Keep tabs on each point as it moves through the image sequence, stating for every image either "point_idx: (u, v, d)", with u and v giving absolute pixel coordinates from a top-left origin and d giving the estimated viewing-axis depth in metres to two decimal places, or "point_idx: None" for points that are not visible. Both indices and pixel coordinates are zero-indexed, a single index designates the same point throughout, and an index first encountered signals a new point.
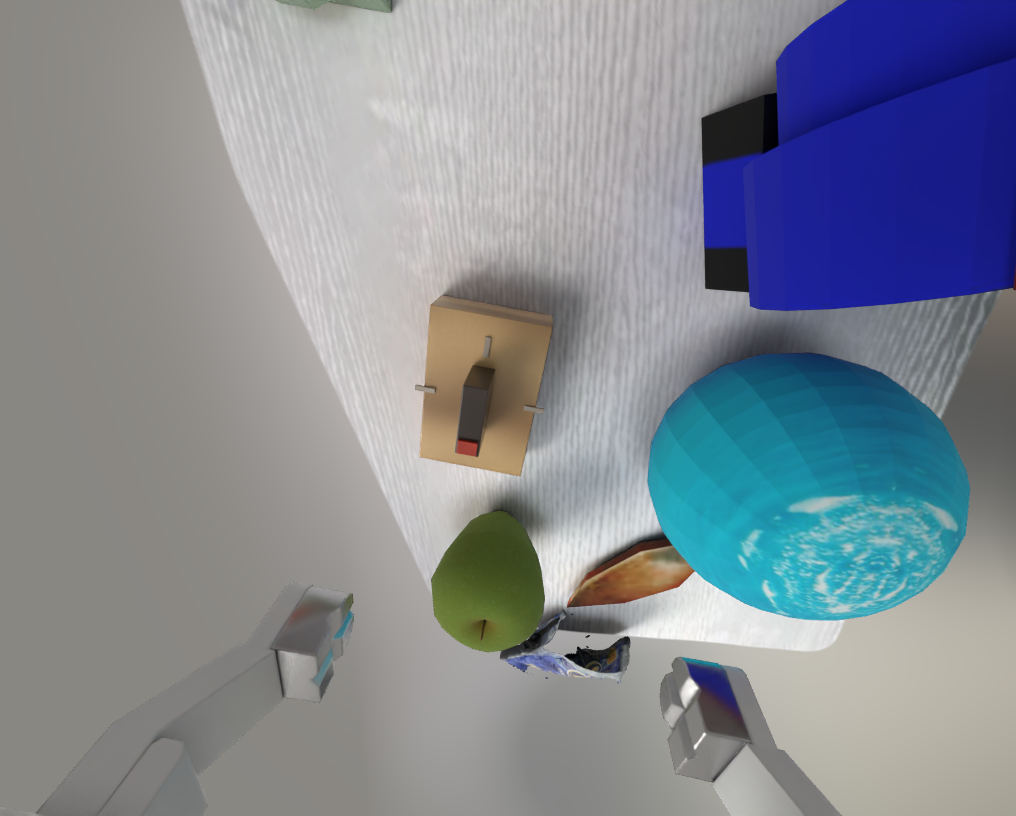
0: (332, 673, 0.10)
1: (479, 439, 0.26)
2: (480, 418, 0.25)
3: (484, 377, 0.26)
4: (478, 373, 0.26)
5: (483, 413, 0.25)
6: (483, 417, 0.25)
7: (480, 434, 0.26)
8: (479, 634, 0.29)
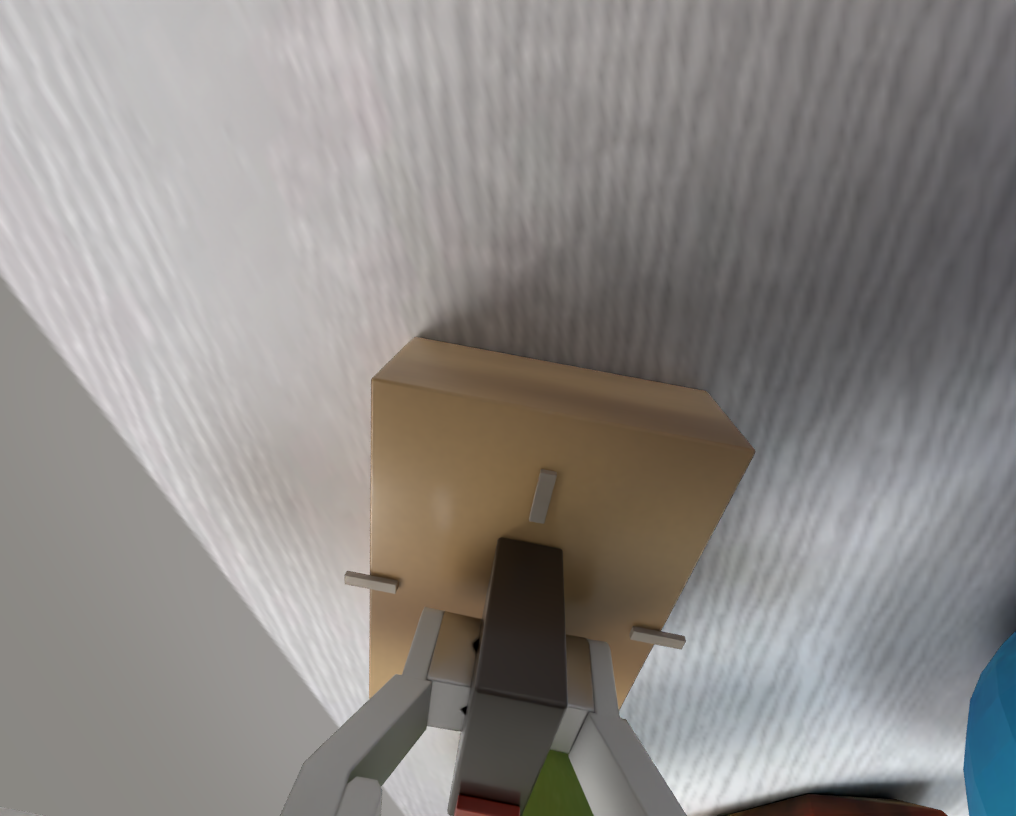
0: None
1: (524, 801, 0.08)
2: (531, 763, 0.08)
3: (541, 609, 0.08)
4: (520, 586, 0.09)
5: (543, 755, 0.07)
6: (542, 761, 0.08)
7: (528, 792, 0.08)
8: None
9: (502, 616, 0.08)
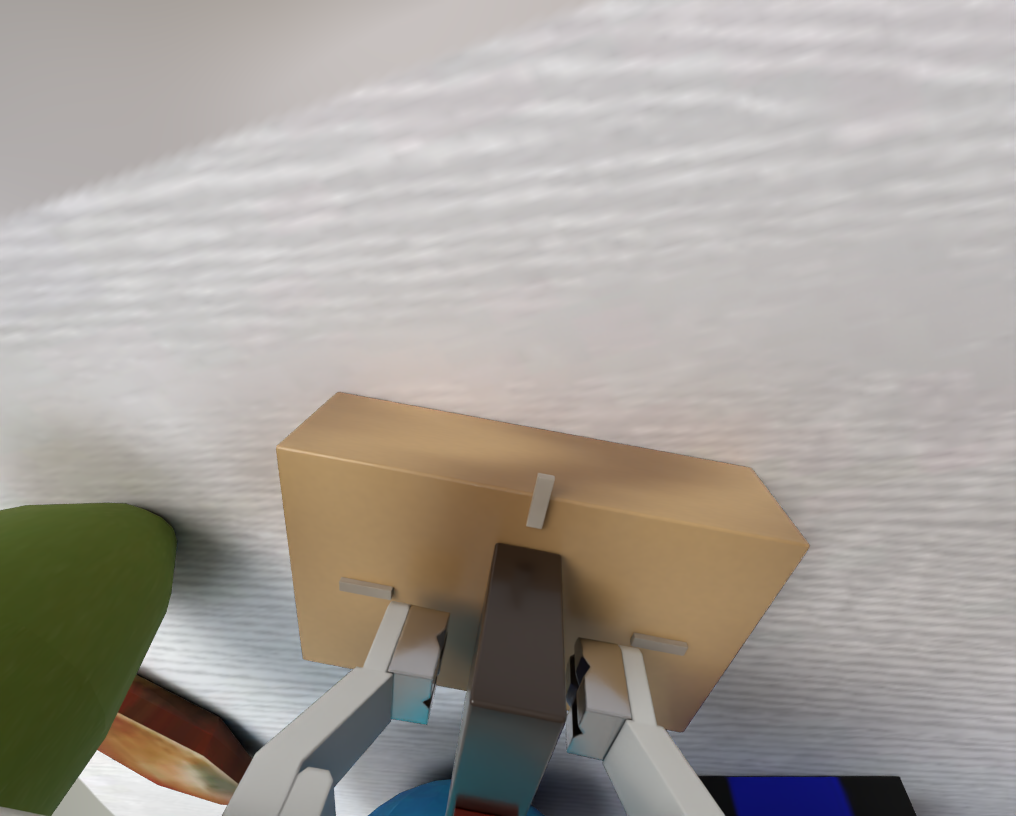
0: (434, 693, 0.10)
1: (522, 815, 0.08)
2: (529, 777, 0.07)
3: (539, 618, 0.08)
4: (517, 594, 0.08)
5: (541, 769, 0.07)
6: (540, 775, 0.07)
7: (526, 806, 0.08)
8: None
9: (499, 625, 0.08)
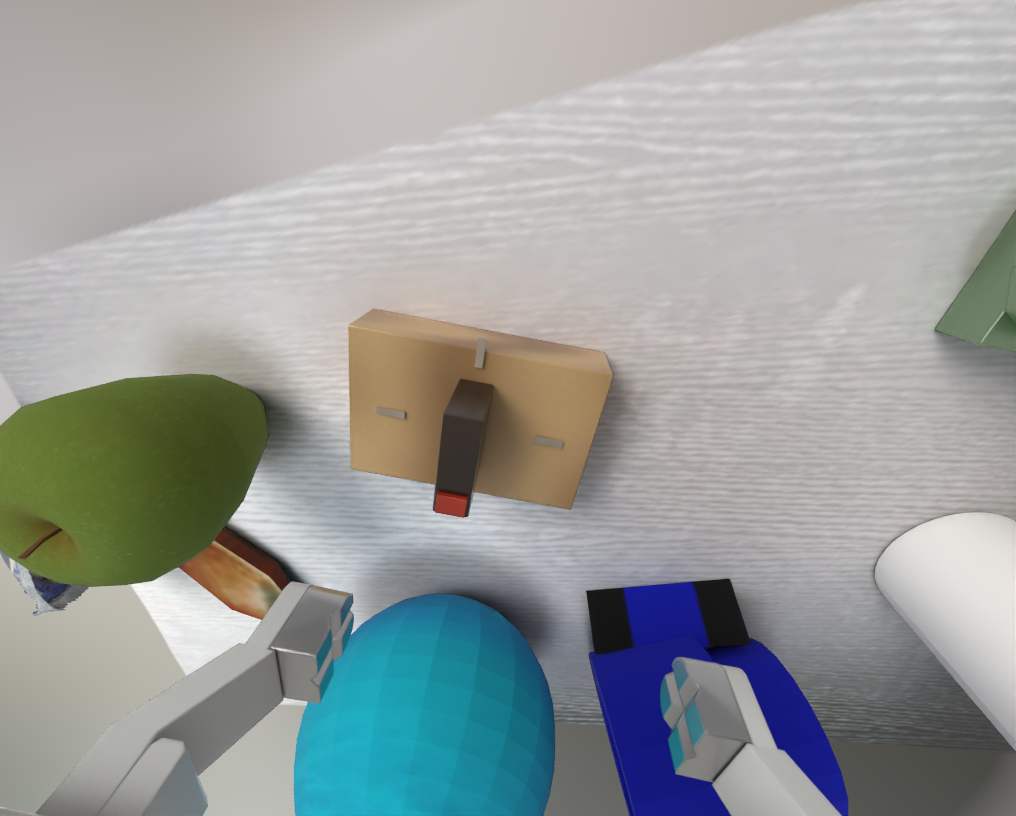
0: (332, 673, 0.10)
1: (469, 492, 0.17)
2: (471, 462, 0.17)
3: (477, 399, 0.17)
4: (468, 392, 0.18)
5: (475, 455, 0.16)
6: (475, 461, 0.17)
7: (471, 485, 0.17)
8: (24, 526, 0.15)
9: (458, 399, 0.17)
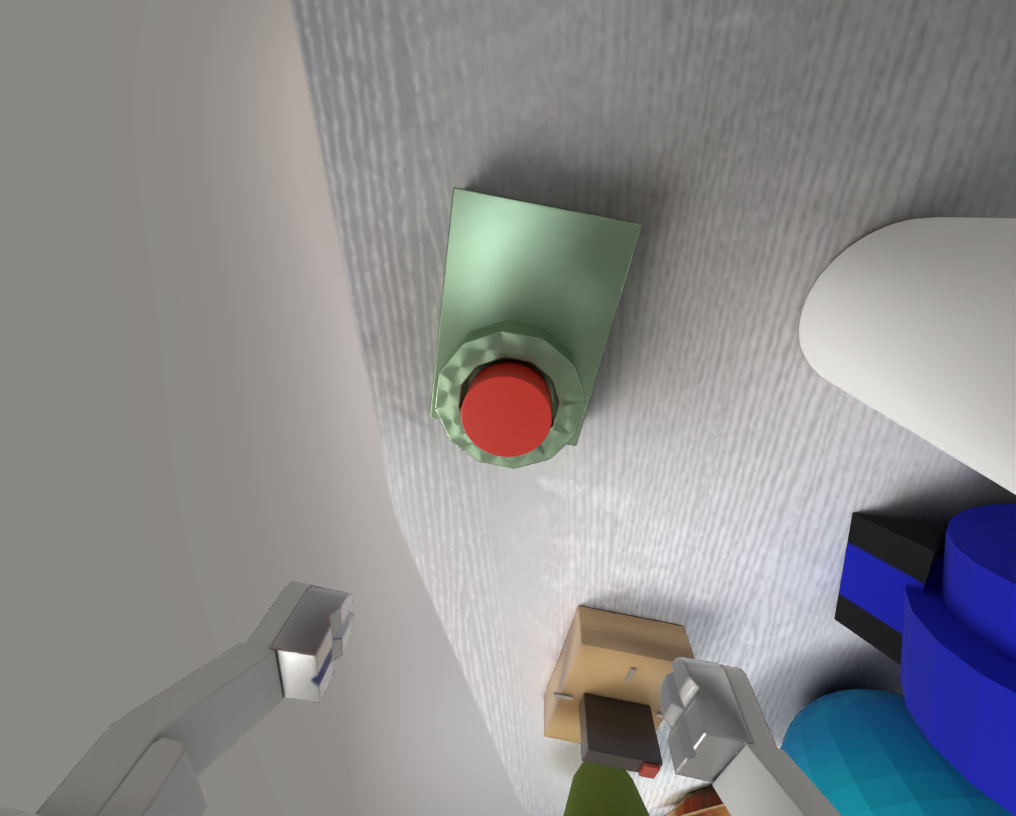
0: (332, 673, 0.10)
1: (641, 760, 0.27)
2: (617, 757, 0.27)
3: (584, 724, 0.28)
4: (581, 720, 0.29)
5: (612, 755, 0.27)
6: (617, 755, 0.27)
7: (635, 759, 0.27)
8: None
9: (581, 735, 0.28)
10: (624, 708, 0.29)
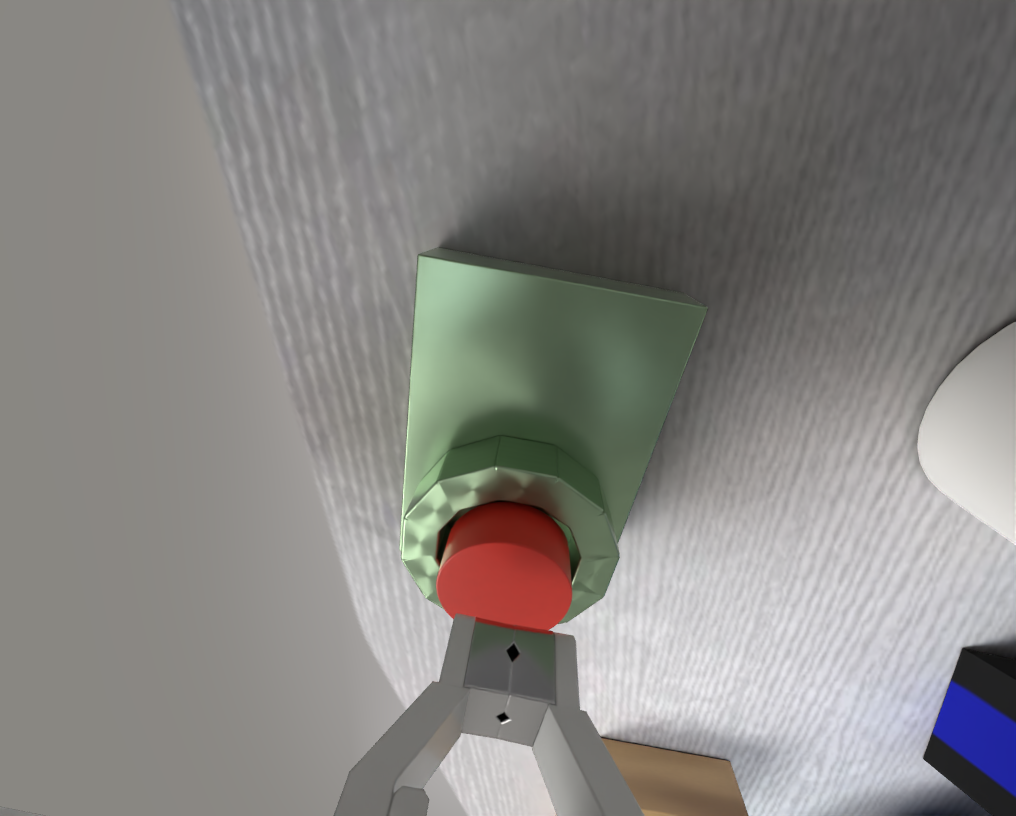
0: None
1: None
2: None
3: None
4: None
5: None
6: None
7: None
8: None
9: None
10: None
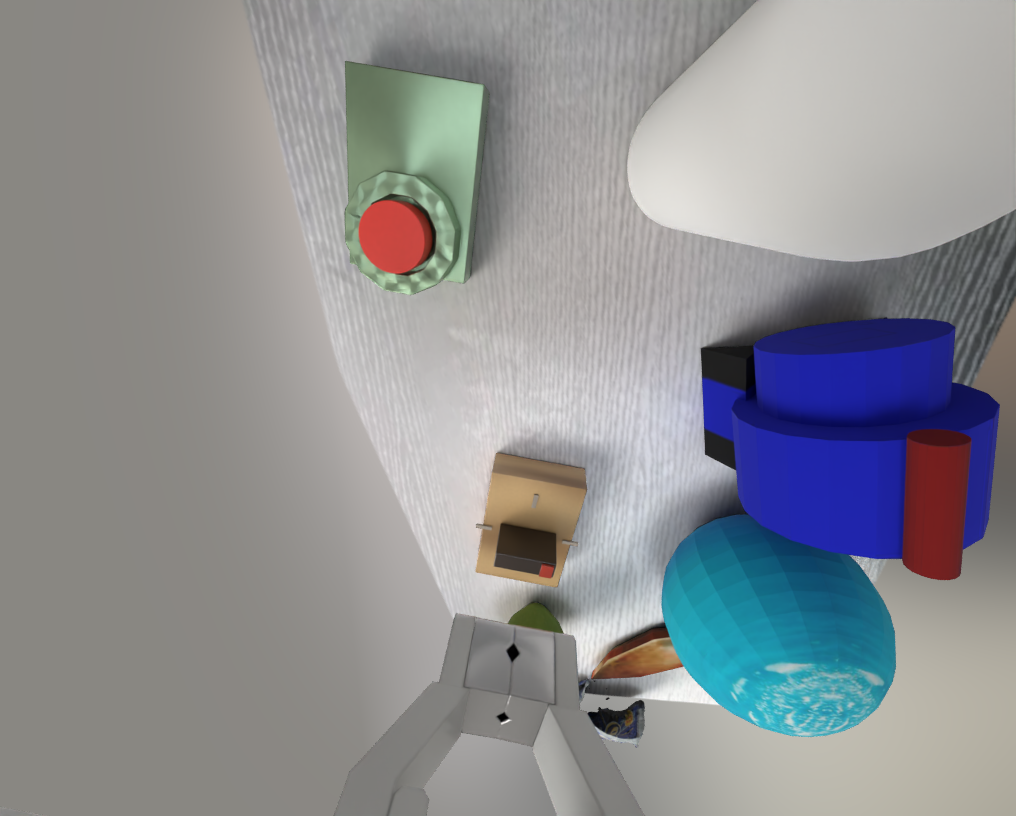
0: None
1: (539, 562, 0.33)
2: (519, 559, 0.33)
3: (497, 541, 0.35)
4: (497, 542, 0.35)
5: (515, 557, 0.33)
6: (519, 557, 0.33)
7: (534, 561, 0.33)
8: None
9: None
10: (533, 533, 0.35)
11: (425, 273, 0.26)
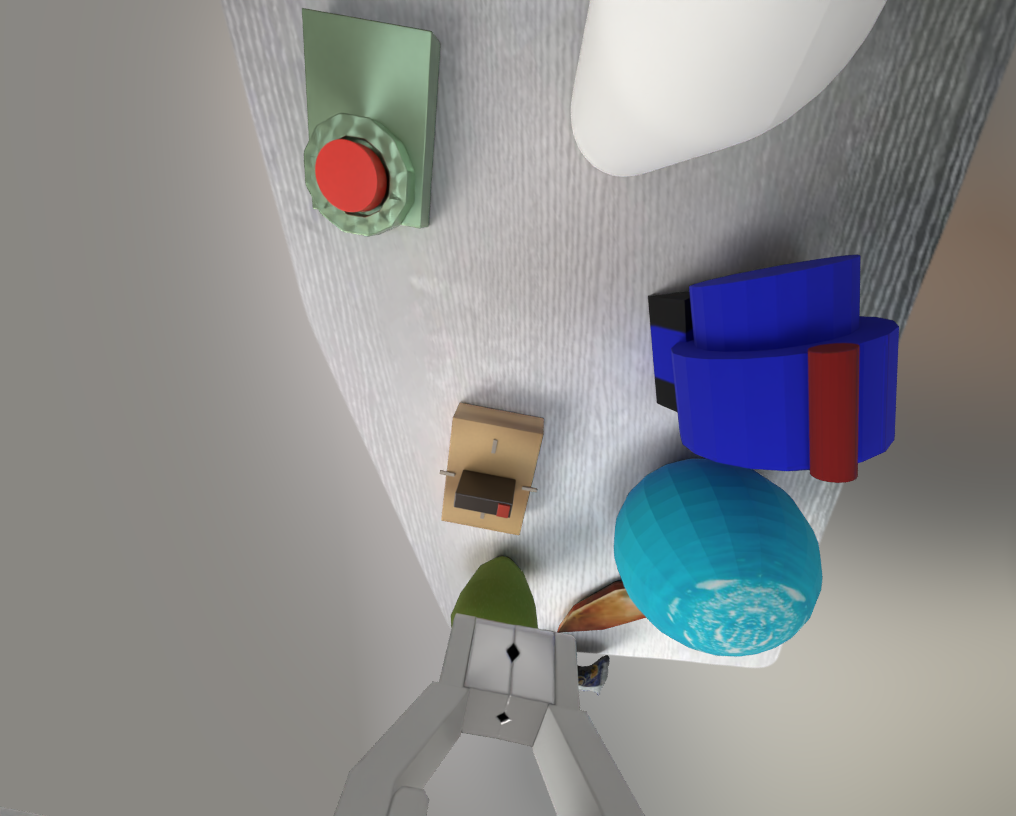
0: None
1: (496, 501, 0.35)
2: (478, 499, 0.35)
3: None
4: None
5: (474, 497, 0.35)
6: (477, 497, 0.35)
7: (492, 500, 0.35)
8: None
9: None
10: (493, 478, 0.37)
11: (381, 214, 0.28)
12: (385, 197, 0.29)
